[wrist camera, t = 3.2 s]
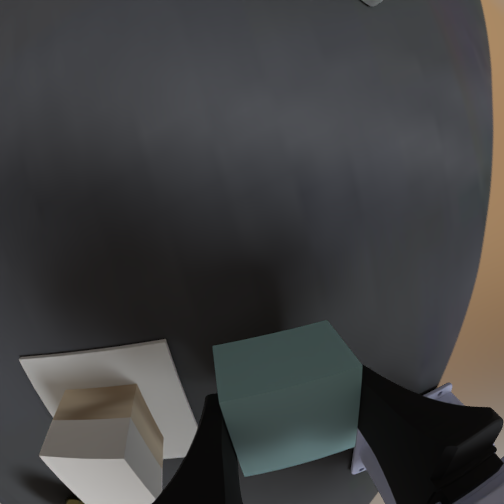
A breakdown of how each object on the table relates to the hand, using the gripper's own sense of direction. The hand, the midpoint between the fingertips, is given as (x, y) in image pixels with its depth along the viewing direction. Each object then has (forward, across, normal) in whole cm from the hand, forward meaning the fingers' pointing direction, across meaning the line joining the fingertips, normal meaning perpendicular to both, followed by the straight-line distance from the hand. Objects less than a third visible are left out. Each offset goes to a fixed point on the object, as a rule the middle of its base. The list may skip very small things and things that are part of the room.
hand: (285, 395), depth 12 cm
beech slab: (+4, +10, +4) cm, 12 cm away
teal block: (+2, 0, 0) cm, 2 cm away
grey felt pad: (+5, +10, +4) cm, 12 cm away
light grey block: (+2, +10, +4) cm, 11 cm away
